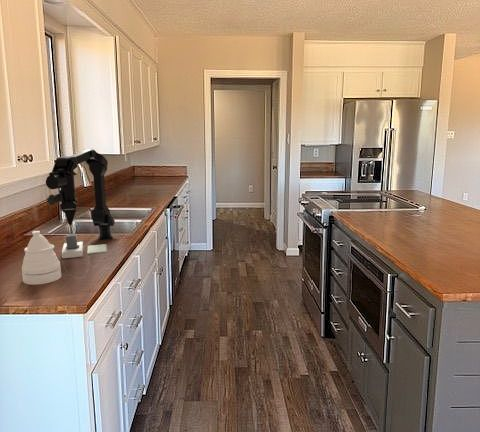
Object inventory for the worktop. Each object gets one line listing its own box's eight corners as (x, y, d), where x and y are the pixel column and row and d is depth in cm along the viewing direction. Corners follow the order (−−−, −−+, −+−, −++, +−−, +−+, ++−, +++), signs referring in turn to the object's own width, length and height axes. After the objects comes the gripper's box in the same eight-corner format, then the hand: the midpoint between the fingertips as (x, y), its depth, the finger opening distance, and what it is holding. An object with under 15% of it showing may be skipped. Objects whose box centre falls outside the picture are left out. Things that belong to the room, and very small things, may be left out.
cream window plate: (64, 248, 200) (64, 243, 199) (83, 246, 202) (82, 241, 201) (62, 258, 185) (61, 252, 184) (82, 256, 187) (81, 250, 187)
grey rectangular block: (68, 252, 194) (66, 234, 192) (78, 251, 195) (76, 233, 193) (67, 254, 190) (66, 236, 188) (77, 253, 191) (75, 235, 190)
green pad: (87, 246, 202) (87, 245, 202) (106, 245, 204) (106, 244, 204) (87, 253, 190) (87, 252, 190) (106, 251, 193) (106, 250, 193)
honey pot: (59, 282, 157) (54, 232, 153) (20, 286, 153) (13, 236, 149) (63, 271, 169) (58, 225, 165) (26, 274, 165) (20, 228, 161)
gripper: (48, 185, 193) (52, 220, 196) (44, 189, 176) (48, 228, 178) (75, 184, 197) (78, 218, 199) (74, 188, 179) (77, 226, 182)
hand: (70, 222), depth 190 cm, fingers open, 9 cm apart
